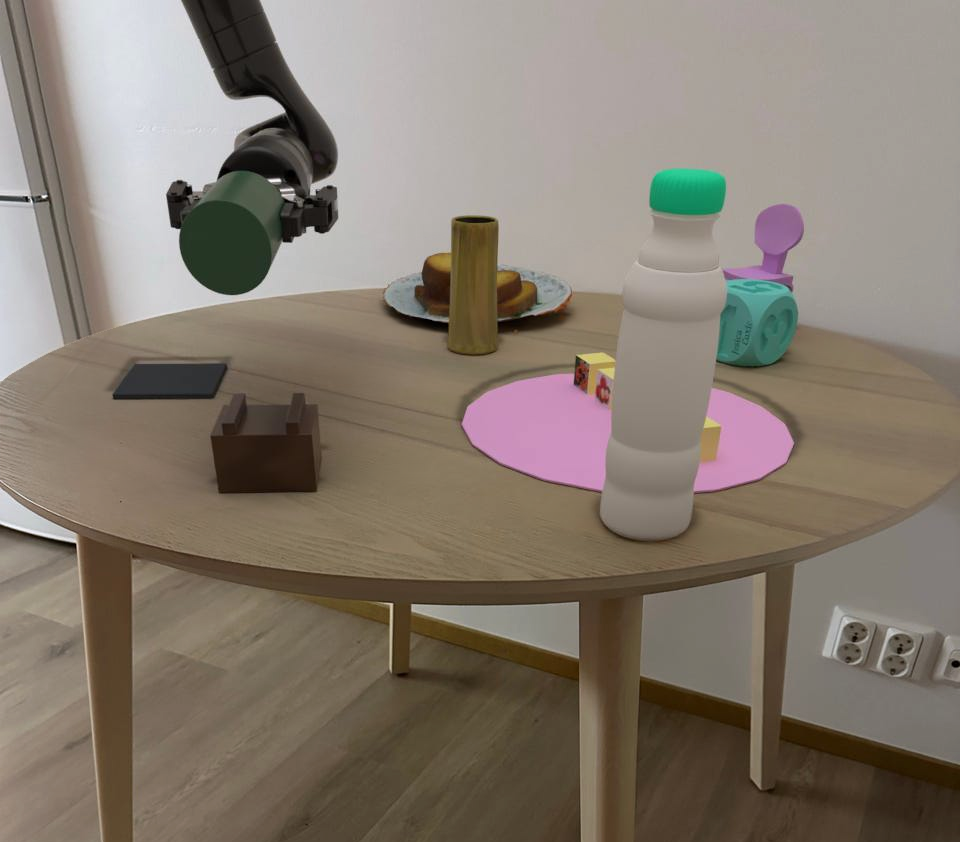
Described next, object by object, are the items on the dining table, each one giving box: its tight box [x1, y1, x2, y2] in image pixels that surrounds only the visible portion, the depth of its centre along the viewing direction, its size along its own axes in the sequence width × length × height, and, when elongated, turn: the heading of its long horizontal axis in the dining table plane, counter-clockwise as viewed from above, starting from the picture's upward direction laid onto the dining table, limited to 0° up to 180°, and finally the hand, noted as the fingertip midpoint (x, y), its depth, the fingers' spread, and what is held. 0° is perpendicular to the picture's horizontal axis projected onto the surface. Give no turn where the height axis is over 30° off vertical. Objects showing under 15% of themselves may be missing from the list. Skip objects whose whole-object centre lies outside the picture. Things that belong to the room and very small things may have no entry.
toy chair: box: [722, 203, 805, 294], centre depth 114 cm, size 8×9×15 cm
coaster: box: [111, 362, 228, 400], centre depth 98 cm, size 10×10×1 cm
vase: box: [446, 214, 500, 356], centre depth 107 cm, size 6×6×14 cm
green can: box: [178, 171, 285, 296], centre depth 69 cm, size 6×11×6 cm, turn 4°
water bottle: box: [599, 167, 727, 542], centre depth 66 cm, size 7×7×25 cm
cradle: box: [209, 392, 323, 494], centre depth 77 cm, size 8×7×6 cm
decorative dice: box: [716, 279, 799, 368], centre depth 108 cm, size 8×8×8 cm
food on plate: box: [382, 252, 573, 333], centre depth 124 cm, size 25×25×7 cm
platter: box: [461, 351, 795, 494], centre depth 89 cm, size 32×32×3 cm
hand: (239, 227), depth 70 cm, fingers closed on green can, 6 cm apart
